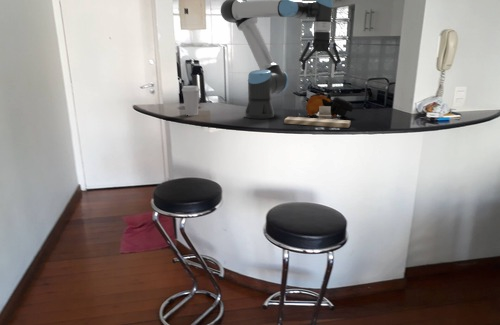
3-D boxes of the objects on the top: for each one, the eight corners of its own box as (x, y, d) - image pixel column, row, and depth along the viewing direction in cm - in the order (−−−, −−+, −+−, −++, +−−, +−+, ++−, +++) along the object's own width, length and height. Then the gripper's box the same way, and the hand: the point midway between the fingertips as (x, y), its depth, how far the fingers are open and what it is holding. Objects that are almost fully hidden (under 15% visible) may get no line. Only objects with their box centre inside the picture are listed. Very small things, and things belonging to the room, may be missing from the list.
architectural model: (330, 122, 187) (331, 107, 185) (316, 122, 188) (317, 107, 186) (330, 121, 191) (331, 106, 188) (316, 121, 191) (316, 106, 189)
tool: (341, 132, 198) (354, 105, 192) (301, 113, 202) (313, 86, 196) (342, 128, 205) (355, 103, 199) (304, 110, 209) (315, 85, 203)
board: (284, 123, 184) (284, 119, 183) (288, 120, 190) (288, 116, 189) (348, 127, 174) (348, 123, 173) (350, 124, 180) (350, 120, 179)
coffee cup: (189, 116, 200) (187, 87, 196) (179, 114, 207) (177, 86, 203) (204, 114, 206) (203, 86, 202) (194, 112, 213) (193, 85, 209)
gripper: (297, 30, 179) (294, 77, 186) (350, 32, 180) (345, 78, 187) (295, 30, 186) (292, 75, 193) (346, 32, 187) (341, 76, 194)
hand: (318, 77), depth 190 cm, fingers open, 13 cm apart
